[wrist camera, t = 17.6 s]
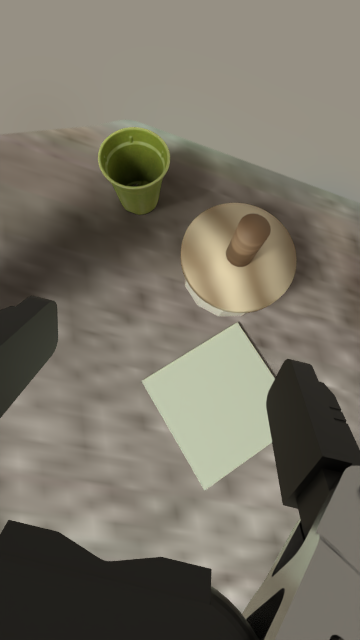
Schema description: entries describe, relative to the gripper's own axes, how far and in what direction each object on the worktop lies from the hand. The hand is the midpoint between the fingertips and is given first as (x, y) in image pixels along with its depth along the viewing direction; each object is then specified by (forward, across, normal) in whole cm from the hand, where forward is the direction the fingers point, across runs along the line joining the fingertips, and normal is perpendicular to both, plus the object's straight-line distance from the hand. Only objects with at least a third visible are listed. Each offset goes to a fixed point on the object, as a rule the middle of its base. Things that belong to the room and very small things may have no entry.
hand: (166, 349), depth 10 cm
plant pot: (+40, +11, +3) cm, 42 cm away
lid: (+29, -6, +5) cm, 30 cm away
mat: (+21, -8, +23) cm, 32 cm away
